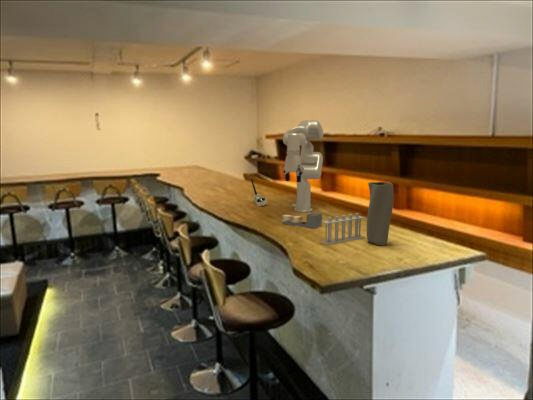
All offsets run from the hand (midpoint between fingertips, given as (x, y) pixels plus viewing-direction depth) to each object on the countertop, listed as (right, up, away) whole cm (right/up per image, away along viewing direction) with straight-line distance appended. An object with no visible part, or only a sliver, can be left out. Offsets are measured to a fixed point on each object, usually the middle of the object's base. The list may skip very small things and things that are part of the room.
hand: (293, 181), depth 254 cm
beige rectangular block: (-1, -26, -7) cm, 27 cm away
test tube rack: (+23, -32, -44) cm, 59 cm away
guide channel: (+2, -26, -9) cm, 28 cm away
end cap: (+11, -27, -15) cm, 33 cm away
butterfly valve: (-21, -15, +57) cm, 62 cm away
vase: (+39, -33, -50) cm, 72 cm away
